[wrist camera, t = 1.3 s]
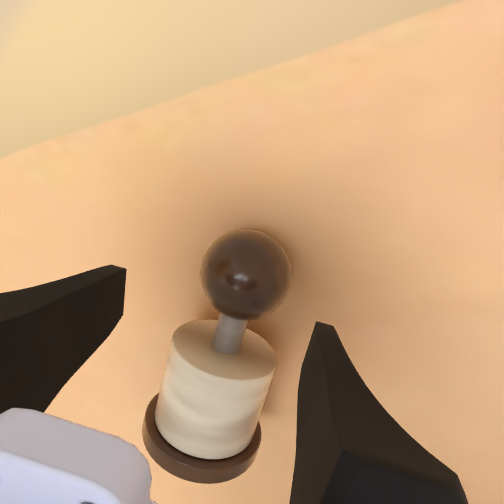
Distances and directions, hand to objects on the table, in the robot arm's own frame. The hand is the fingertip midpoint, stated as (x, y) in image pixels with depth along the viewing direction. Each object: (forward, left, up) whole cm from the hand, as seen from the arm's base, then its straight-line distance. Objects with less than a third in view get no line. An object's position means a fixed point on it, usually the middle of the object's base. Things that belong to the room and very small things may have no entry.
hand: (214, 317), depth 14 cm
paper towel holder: (-10, +5, -6) cm, 13 cm away
